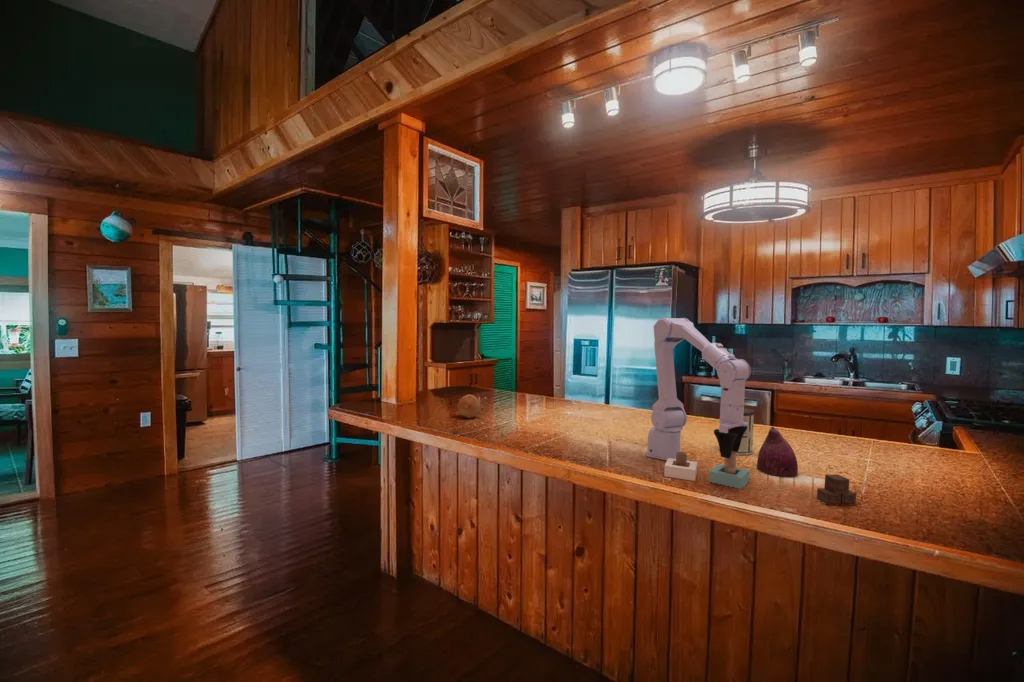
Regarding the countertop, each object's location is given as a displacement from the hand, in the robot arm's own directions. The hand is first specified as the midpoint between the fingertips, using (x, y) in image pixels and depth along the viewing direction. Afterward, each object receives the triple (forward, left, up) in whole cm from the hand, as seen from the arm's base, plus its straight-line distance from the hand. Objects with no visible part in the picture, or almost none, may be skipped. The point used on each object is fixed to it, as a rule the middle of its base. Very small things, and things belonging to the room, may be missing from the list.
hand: (729, 454), depth 127 cm
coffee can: (-7, +33, -8) cm, 35 cm away
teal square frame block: (0, 0, -8) cm, 8 cm away
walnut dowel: (-12, -3, -8) cm, 14 cm away
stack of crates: (+23, +4, -8) cm, 24 cm away
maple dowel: (0, 0, -8) cm, 8 cm away
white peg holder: (-12, -3, -8) cm, 14 cm away
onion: (-107, +7, -8) cm, 107 cm away
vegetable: (+8, +19, -8) cm, 22 cm away
